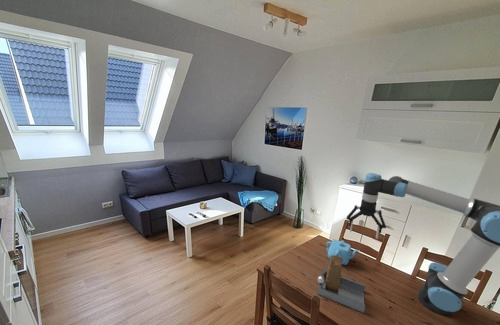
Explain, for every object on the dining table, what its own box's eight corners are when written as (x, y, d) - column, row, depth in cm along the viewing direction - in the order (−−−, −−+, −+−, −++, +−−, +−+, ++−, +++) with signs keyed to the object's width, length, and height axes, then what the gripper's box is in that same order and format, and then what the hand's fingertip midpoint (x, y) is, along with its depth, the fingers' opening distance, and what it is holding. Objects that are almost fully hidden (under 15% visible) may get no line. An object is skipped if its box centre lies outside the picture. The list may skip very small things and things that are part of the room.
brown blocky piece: (337, 297, 118) (342, 266, 114) (323, 292, 121) (328, 261, 117) (339, 284, 127) (344, 255, 123) (326, 280, 131) (330, 251, 127)
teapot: (332, 267, 143) (335, 249, 141) (322, 252, 159) (324, 236, 157) (357, 267, 145) (360, 249, 142) (345, 252, 161) (348, 236, 158)
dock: (363, 291, 124) (366, 276, 122) (363, 313, 109) (366, 297, 107) (320, 274, 135) (322, 261, 133) (315, 293, 120) (317, 278, 118)
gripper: (394, 203, 118) (387, 237, 122) (346, 193, 129) (341, 225, 133) (396, 207, 111) (388, 243, 115) (345, 197, 122) (340, 230, 127)
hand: (363, 234), depth 124 cm, fingers open, 13 cm apart
